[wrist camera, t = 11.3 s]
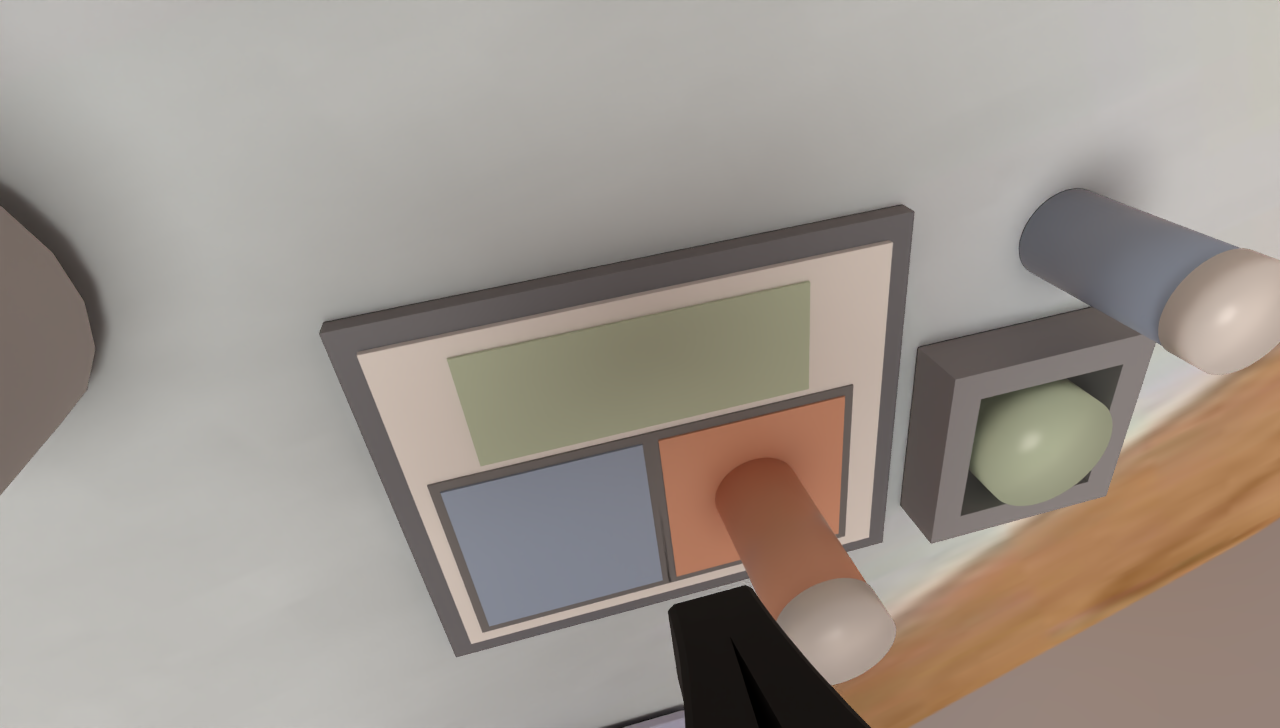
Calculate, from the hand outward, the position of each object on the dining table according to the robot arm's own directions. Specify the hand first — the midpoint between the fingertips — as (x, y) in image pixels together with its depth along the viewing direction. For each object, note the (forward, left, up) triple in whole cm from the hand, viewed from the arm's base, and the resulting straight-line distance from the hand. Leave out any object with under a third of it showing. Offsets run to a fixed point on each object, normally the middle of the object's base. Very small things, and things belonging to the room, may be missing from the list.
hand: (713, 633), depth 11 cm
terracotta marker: (-6, -4, -9) cm, 11 cm away
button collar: (-6, -14, -10) cm, 18 cm away
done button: (-6, -13, -9) cm, 17 cm away
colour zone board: (-4, -1, -10) cm, 11 cm away
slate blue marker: (0, -15, -10) cm, 18 cm away
